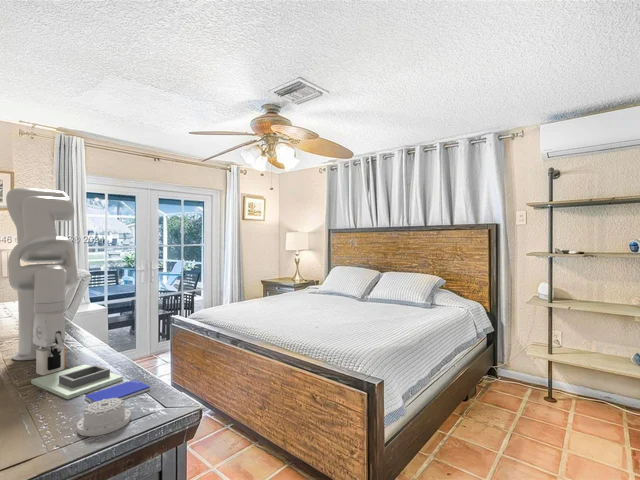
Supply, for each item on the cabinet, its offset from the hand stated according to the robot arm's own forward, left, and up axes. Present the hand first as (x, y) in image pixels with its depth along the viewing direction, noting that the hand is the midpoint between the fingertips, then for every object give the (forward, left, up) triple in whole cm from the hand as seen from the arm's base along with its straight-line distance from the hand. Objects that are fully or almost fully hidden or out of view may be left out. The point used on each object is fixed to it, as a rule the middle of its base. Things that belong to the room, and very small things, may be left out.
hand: (50, 366), depth 106 cm
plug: (0, 0, -1) cm, 1 cm away
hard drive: (+34, +1, -2) cm, 34 cm away
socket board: (+16, 0, -1) cm, 16 cm away
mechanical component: (+46, -9, -2) cm, 47 cm away
